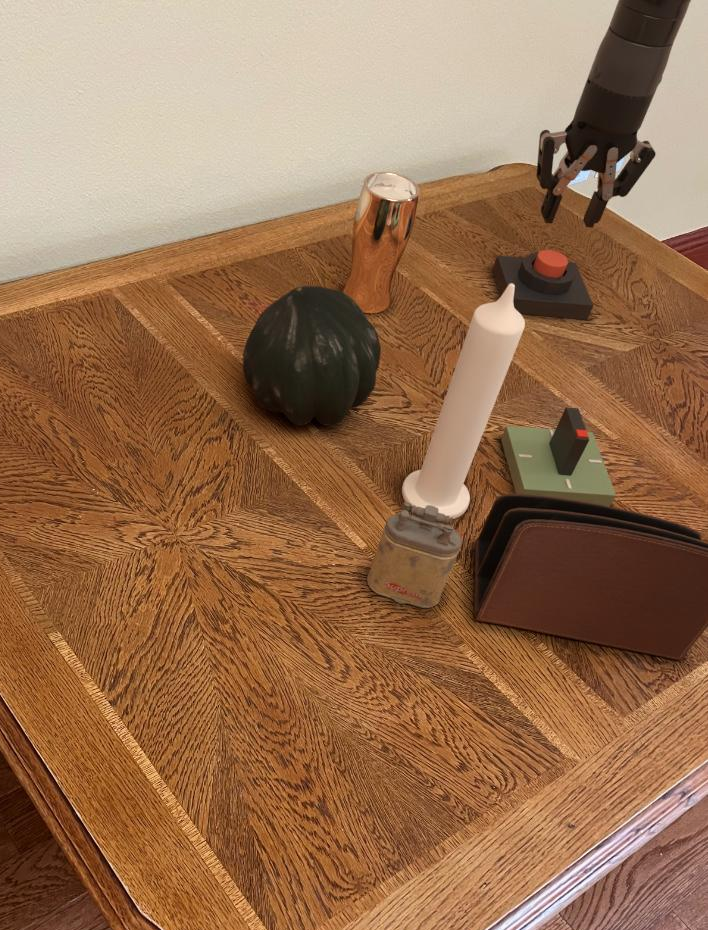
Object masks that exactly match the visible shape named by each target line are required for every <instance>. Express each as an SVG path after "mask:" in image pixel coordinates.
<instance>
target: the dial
mask: <svg viewBox="0 0 708 930" xmlns="http://www.w3.org/2000/svg"><path fill="white" fill-rule="evenodd" d="M580 411H581V410H580V408H578V407H570V406H569V407H568V406H565V408H564V410H563V413H562V415H561V416H560V419H559V421H558V423H557V426H556V428H555V429H556V430H555V432H554V434H553V436H552V438H551V440H550V442H549V444H550V447H551V450H552V454H553V457H554V460H555V463H556V467H557V470H558V473H559V475H572V473H573V471H574V469H575V467H576V465H577V463H578V461H579V460H580V458H581V456H582V454H583V452H584V450H585V448H586V446H587V444H588V442H589V436H588V433H587V432H588V431H587V428H586V426H585V424H584V420H583V417H582V415H581V412H580Z"/></svg>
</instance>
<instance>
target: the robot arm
mask: <svg viewBox="0 0 708 930" xmlns="http://www.w3.org/2000/svg"><path fill="white" fill-rule="evenodd" d="M691 2H692V0H618V1H617V4H616V6H615V9H614V12H613V15H612V18H611V20H610V22H609V25H608V27H607V30H606V32H605V34H604V36H603V38H602V40H601V42H600V44H599V47H598V49H597V52H596V53H595V56H594V59H593V63H592V64H591V68H590V70H589V74H588V76H587V79H586V81H585V84H584V87H583V90H582V92H581V95H580V98H579V101H578V104H577V105H576V108H575V112H574V115H573V119H572V120H571V122H570V123H569V124H568V125H567V127H566V128H565V129H564V130H563V131H556V132H550V130H548V129H544V130H542V131H541V132H540V134H539V139H538V149H537V150H538V152H537V162H536V163H537V164H536V173H535V174H536V175H535V177H536V179H537V180H538V183H539V186H540V188H541V189H543V190H547V191H546V193H545V195H544V199H543V201H542V204H541V207H540V214H541V216H542V218H543V220H544V223H545V224H547V225H549V224H550V225H551V224H553V223H554V220H555V217H556V215H557V212H558V210H559V207H560V204H561V201H562V199H563V195H562V194H563V193H564V191H565V190H566V188H567V187H568V186H569V184H570V183H571V182H572V181H574V180H576V178H577V177H578V176H579V174H580V173H581V172H588V171H593V172H595V173H597V184H596V185H597V191H596V190H594V191H593V193H592V195H591V198H590V200H589V204H588V206H587V208H586V211H585V213H584V216H583V223H584V225H585V227H586V228H594V227H595V224H599V222H600V221H601V219H602V217H603V215H604V212H605V211H606V208H607V206H608V203H609V201H610V200H611V199H612V198H614V197H621V198H624V197H627V196H628V194H630V192H631V191H632V189H633V188H634V186H635V185H636V183H637V182H638V181H639V179H640V178H641V177H642V175H643V174H644V173H645V171H646V169H648V167H649V165H650V164H651V163H652V161H653V160H654V159H655V157H656V155H657V154H656V151H655V149H654V148H653V146H652V144H651V143H650V141H649V140H643V141H641V140H638V131H639V130H640V129H641V127H642V125H643V122H644V120H645V118H646V115H647V113H648V111H649V108H650V105H651V103H652V101H653V99H654V96H655V94H656V92H657V90H658V87H659V85H660V84H661V82H662V80H663V75H664V73H665V70H666V68H667V65H668V61H669V58H670V55H671V52H672V48H673V46H674V43H675V40H676V39H677V36H678V34H679V31H680V29H681V26H682V24H683V21H684V19H685V17H686V14H687V12H688V9H689V6H690V4H691ZM563 144H565V146H566V147H565V148H566V152H565V154H564V155H563V156H562V158H561V159H560V161H559V162H558V167H557V168H556V169H555V170H554V173H553V165H554V155H556V154H558V153H559V150H560V148H561V146H562V145H563ZM628 154H629V160H628V161H627V162H626V164H625V165H624V167H622V169H621V171H620V172H619V174H618V175H617V176H616V174H617V164H618V163H619V162H620V161H621V160H623V159H624V158H625V157H626V156H627V155H628Z"/></svg>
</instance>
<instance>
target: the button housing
mask: <svg viewBox="0 0 708 930" xmlns="http://www.w3.org/2000/svg"><path fill="white" fill-rule="evenodd" d="M538 253H539V252H534V253H530V254H526V256H524V257H519V256H509V255H499V254H497V255H496V258H495V261H494V263H493V267H492V270H491V271H492V273H493V277H494V280H495V283H496V286H497V289H498V292H499V295H500V297H501V296H502V294H503V293H504V291H505V290H506V288H507V287H508V285H509V284H511V283H512V284H514V285H515V289H514V298H513V304H514V308H515V309H516V310H517V311H518V312H519V313H520V314H521V315H528V316H529V315H530V316H538V317H539V316H540V317H550V318H551V317H552V318H563V319H574V320H575V319H576V320H586V321H588V319H589V317H590V315H591V312H592V310H593V308H594V303H593V301H592V298H591V296H590V294H589V292H588V289H587V286H586V284H585V282H584V280H583V278H582V275H581V272H580V270H579V268H578V266H577V263H576V262H572V261H568V264H567V267H566V269H565V271H564V274H563V276H561V277H558V278H554V277H547V276H545V275H542V274H540V273H538V272H537V271H536V270H535V269H534V268H533V265H534V263H535V260H536V257H537V255H538Z"/></svg>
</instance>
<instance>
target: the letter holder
mask: <svg viewBox="0 0 708 930" xmlns="http://www.w3.org/2000/svg"><path fill="white" fill-rule="evenodd" d="M702 539H703V535H702V533H701V532H700V531H699V530H696V529H694V528H692V527H690V526H687V525H686V524H681V523H679V522H675V521H671V520H668V519H665V518H660V517H657V516H654V515H649V514H644V513H641V512H637V511H634V510H628V509H624V508H620V507H613V506H610V507H609V506H604V505H599V504H594V503H588V502H583V501H577V500H571V499H564V498H557V497H549V496H542V495H529V494H516V493H506V494H501V495H498V496H497V497H496V499H495V500H494V502H493V504H492V506H491V509H490V510H489V512H488V515H487V518H486V519H485V522H484V524H483V526H482V527H481V530H480V533H479V535H478V538H477V539H476V540H475V543H474V591H473V592H474V594H473V595H474V596H473V597H474V598H473V600H474V601H473V606H474V607H473V612H474V619H475V621H477V622H483V623H489V624H496V625H502V626H506V627H513V628H517V629H522V630H527V631H532V632H536V633H540V634H546V635H550V636H551V635H552V636H556V637H561V638H566V639H572V640H576V641H580V642H586V643H591V644H596V645H599V646H604V647H605V646H606V647H612V648H616V649H620V650H627V651H631V652H634V653H640V654H645V655H650V656H654V657H655V656H656V657H660V658H666V659H670V660H675V661H678V662H679V661H682V660H683V658H684V657H685V656H686V655H687V654H688V652H689V651H690V649H692V647H693V645H695V643H696V642H697V641H698V639H699V638H700V637H701V636H702V634H703V633H704V632H705V631H706V629H707V628H708V542H707V541H703V540H702Z"/></svg>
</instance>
